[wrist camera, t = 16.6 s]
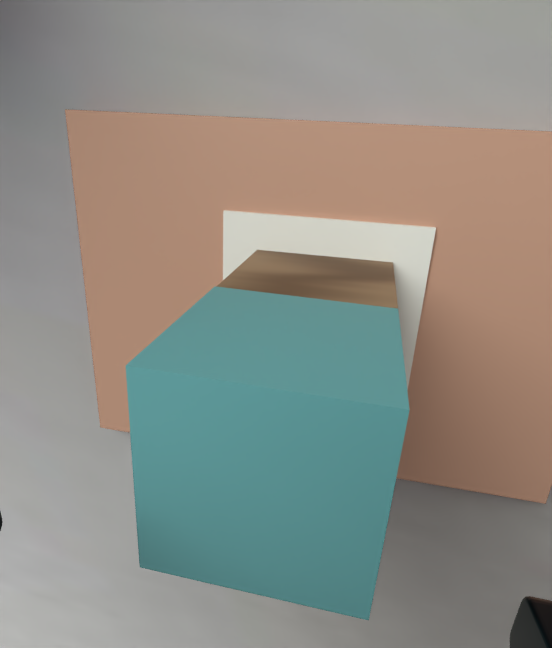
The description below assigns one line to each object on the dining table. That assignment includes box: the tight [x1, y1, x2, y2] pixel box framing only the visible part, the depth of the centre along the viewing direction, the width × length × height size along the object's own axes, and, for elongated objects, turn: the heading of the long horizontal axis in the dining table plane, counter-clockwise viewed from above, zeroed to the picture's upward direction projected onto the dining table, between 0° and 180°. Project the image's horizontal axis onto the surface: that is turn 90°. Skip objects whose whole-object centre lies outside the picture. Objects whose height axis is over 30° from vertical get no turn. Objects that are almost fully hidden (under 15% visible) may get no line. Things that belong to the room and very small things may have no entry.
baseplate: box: [65, 110, 552, 504], centre depth 19 cm, size 20×14×1 cm
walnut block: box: [216, 250, 398, 309], centre depth 16 cm, size 5×5×5 cm
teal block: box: [126, 286, 410, 620], centre depth 11 cm, size 5×5×5 cm
